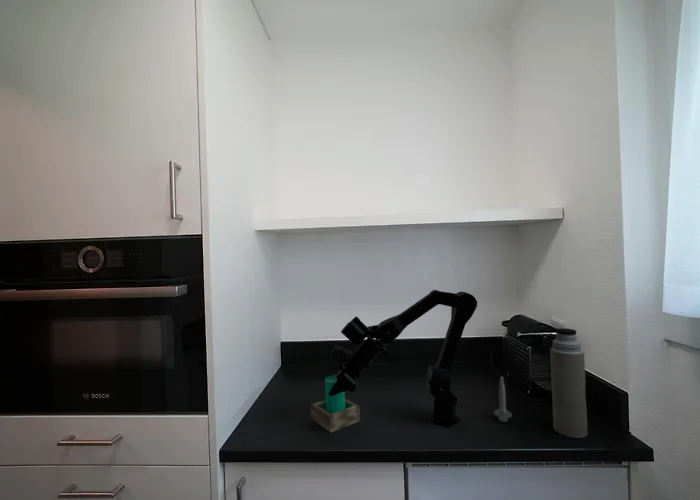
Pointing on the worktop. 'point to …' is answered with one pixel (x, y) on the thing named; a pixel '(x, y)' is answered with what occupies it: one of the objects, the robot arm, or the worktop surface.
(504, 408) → the screw
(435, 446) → the worktop surface
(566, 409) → the thermos bottle
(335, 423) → the candle holder
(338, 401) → the candle
